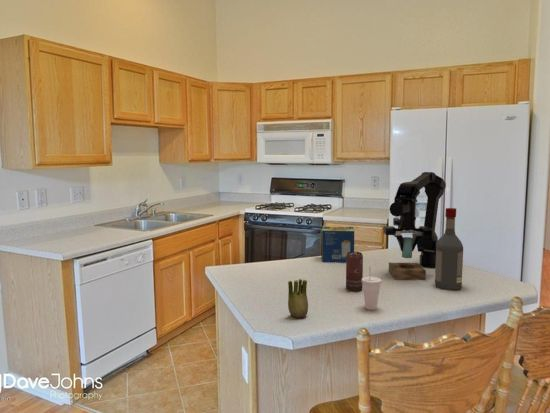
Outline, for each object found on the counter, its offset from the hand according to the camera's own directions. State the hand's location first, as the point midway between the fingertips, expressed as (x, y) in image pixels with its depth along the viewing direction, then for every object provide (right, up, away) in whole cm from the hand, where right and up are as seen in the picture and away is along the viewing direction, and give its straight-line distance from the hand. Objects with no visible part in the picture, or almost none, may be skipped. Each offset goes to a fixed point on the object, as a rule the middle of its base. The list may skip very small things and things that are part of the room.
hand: (407, 251), depth 170 cm
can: (-25, -13, -15) cm, 32 cm away
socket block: (0, -10, +1) cm, 11 cm away
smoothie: (-23, -15, -34) cm, 44 cm away
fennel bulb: (-47, -16, -41) cm, 65 cm away
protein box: (-24, -8, +29) cm, 38 cm away
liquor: (+11, -12, -13) cm, 21 cm away
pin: (0, -3, 0) cm, 2 cm away
